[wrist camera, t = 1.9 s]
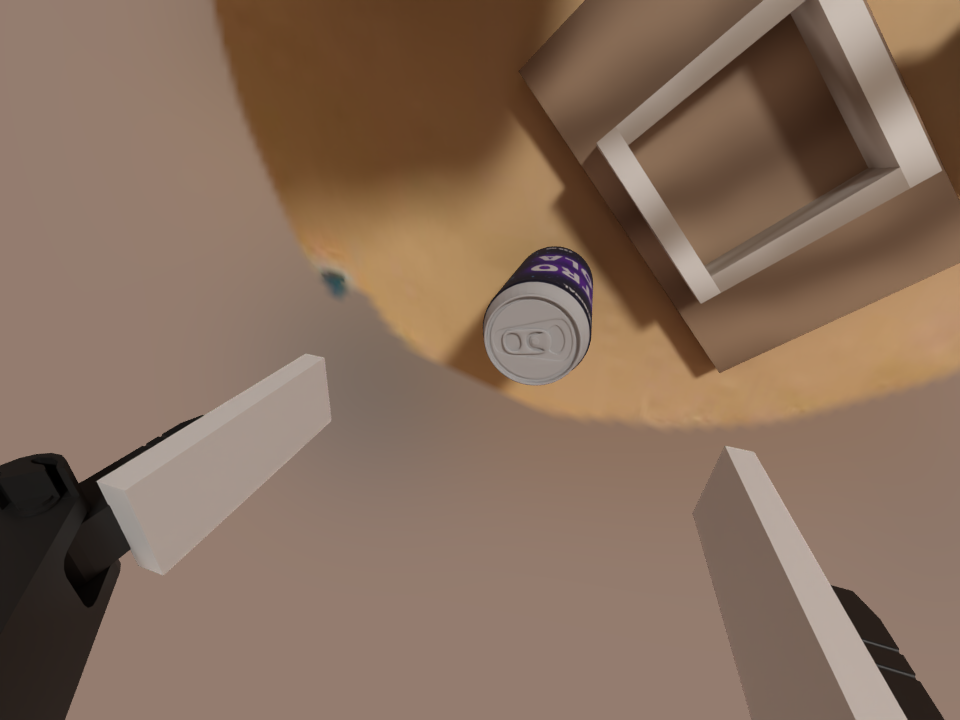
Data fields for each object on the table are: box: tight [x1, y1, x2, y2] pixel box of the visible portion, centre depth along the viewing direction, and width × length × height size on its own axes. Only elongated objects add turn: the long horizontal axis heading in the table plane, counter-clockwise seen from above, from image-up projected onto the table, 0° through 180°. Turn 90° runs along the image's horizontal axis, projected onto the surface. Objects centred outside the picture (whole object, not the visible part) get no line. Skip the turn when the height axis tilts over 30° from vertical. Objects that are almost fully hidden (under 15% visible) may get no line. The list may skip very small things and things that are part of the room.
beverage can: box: [483, 247, 593, 385], centre depth 24 cm, size 6×6×12 cm
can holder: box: [519, 0, 960, 373], centre depth 22 cm, size 24×14×4 cm, turn 40°
